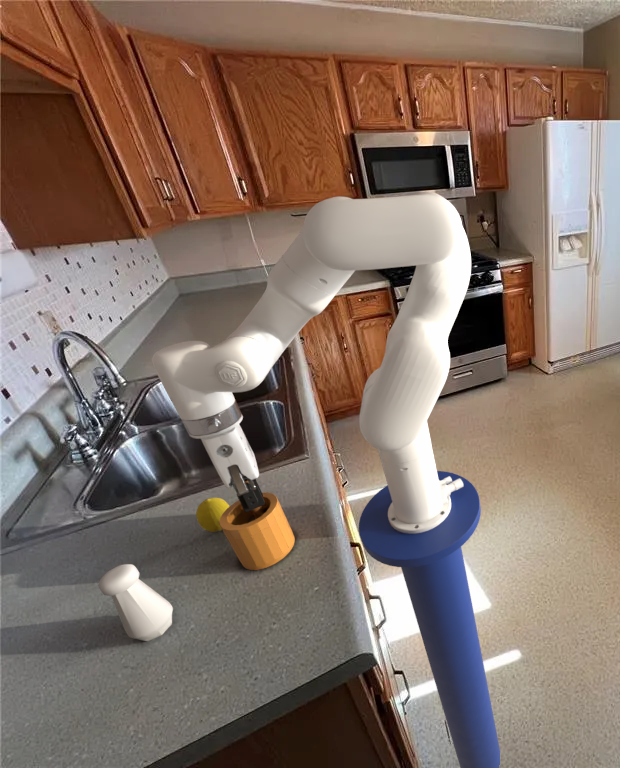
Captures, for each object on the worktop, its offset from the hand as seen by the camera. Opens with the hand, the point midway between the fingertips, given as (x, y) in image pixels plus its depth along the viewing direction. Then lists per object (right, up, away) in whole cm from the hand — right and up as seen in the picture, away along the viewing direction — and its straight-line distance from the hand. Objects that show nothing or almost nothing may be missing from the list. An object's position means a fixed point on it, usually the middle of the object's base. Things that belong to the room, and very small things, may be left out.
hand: (254, 503), depth 75 cm
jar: (0, -10, +4) cm, 11 cm away
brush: (0, -6, +3) cm, 7 cm away
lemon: (-12, -8, +10) cm, 18 cm away
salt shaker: (-10, -18, -9) cm, 22 cm away
